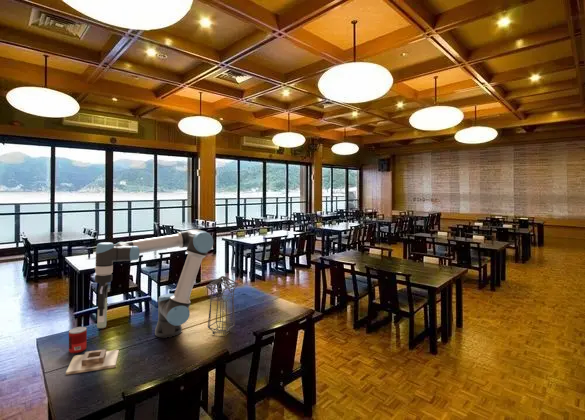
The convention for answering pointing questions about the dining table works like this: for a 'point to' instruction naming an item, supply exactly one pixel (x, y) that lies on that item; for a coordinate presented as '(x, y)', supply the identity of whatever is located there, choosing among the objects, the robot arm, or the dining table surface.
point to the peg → (103, 324)
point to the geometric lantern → (223, 302)
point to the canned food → (77, 339)
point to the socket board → (104, 365)
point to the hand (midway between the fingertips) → (101, 320)
